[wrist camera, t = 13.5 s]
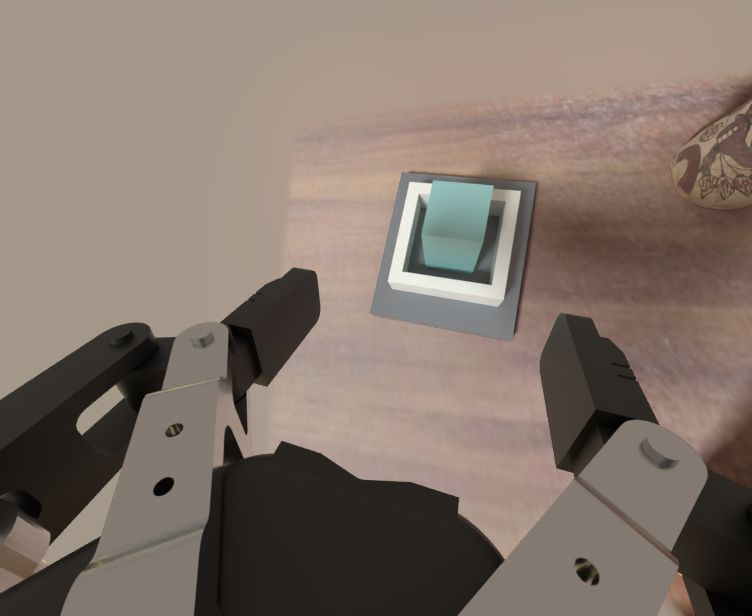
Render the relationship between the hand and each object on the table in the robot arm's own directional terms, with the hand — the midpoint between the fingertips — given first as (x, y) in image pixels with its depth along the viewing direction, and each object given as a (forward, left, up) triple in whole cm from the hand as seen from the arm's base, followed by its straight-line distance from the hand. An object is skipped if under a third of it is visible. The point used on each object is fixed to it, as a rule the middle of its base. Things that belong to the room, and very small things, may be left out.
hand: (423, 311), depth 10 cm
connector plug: (0, -9, -16) cm, 18 cm away
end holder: (0, -9, -17) cm, 19 cm away
